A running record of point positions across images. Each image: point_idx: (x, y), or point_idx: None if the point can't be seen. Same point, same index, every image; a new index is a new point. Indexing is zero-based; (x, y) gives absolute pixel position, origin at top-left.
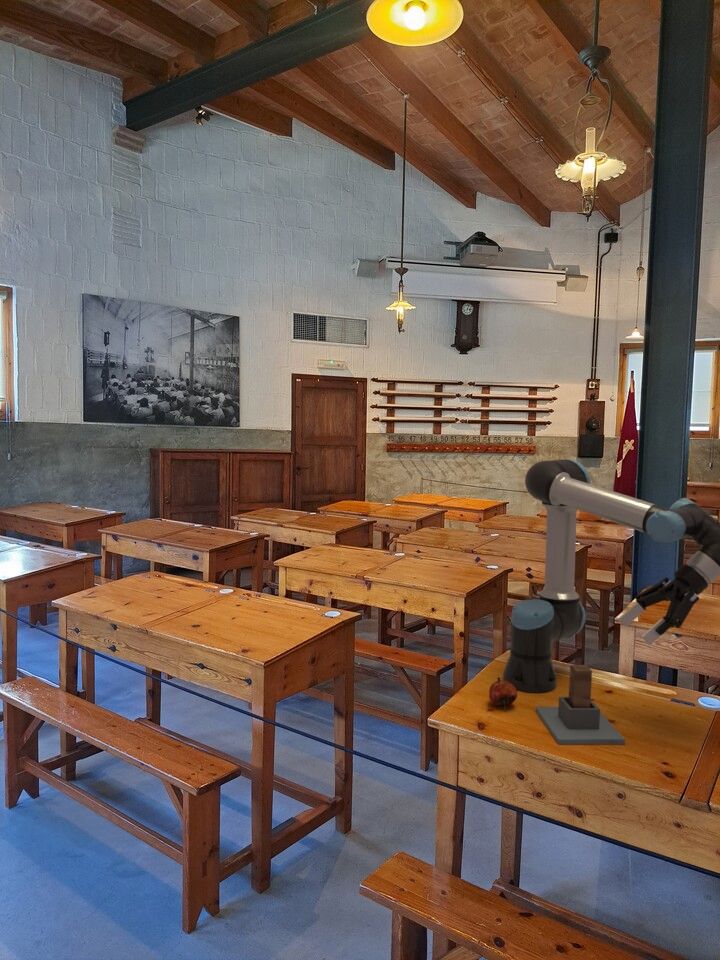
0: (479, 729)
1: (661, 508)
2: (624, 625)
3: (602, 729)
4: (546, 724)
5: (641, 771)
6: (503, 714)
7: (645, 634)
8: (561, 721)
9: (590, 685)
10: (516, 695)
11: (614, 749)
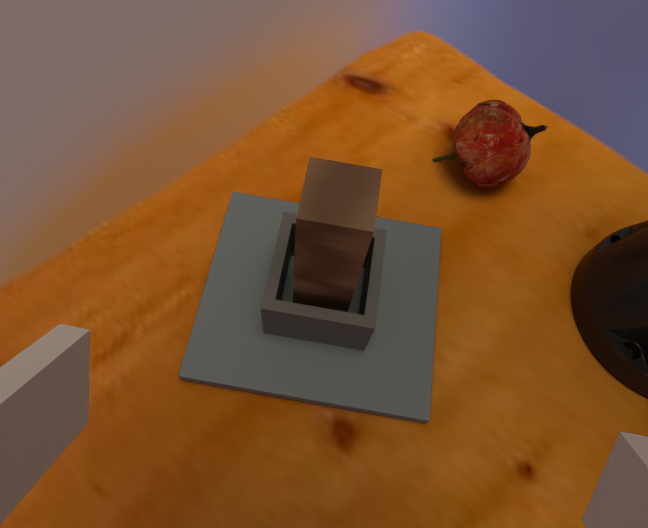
0: (347, 75)
1: None
2: (590, 501)
3: (259, 343)
4: None
5: (27, 329)
6: (422, 151)
7: (39, 345)
8: None
9: (296, 249)
10: (468, 167)
11: (163, 328)
